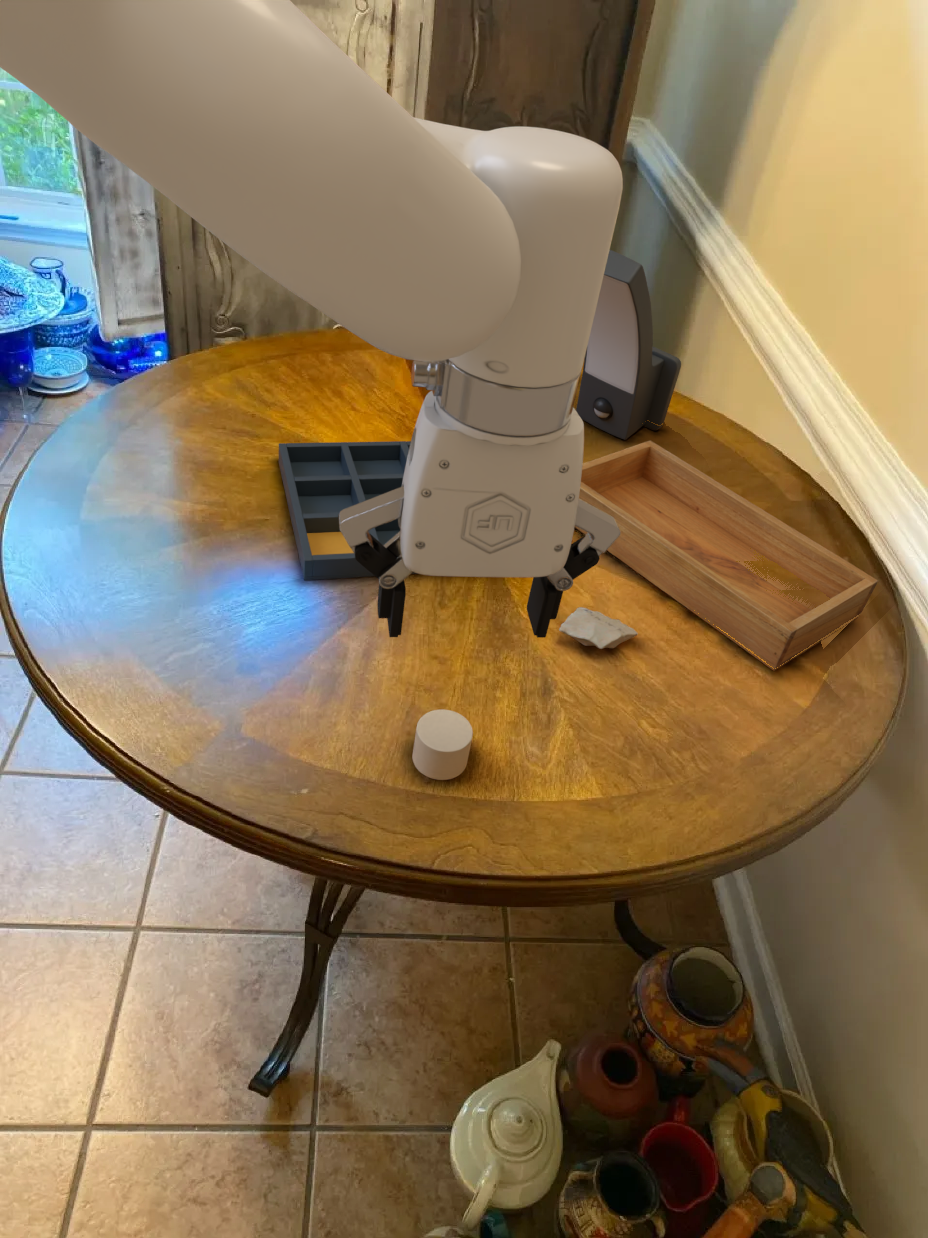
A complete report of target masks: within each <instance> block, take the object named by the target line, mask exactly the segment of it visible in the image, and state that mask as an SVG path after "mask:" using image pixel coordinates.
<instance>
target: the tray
mask: <svg viewBox="0 0 928 1238" xmlns="http://www.w3.org/2000/svg"><path fill="white" fill-rule="evenodd" d="M579 499H581V500H583V501H585V502H587V503H588V504H590V505H592V506H594V507H596V508H598V509H599V510H601V511H603V512H605V513H607V514H609V515H610V516H612V517H614V518H615V520H616V522H617V524H618V527H619V529H620V531H621V533H620V536H619V537H618V538H617V539H616V540H615V542H614V543H613V544H612V545H611V546H610V547H609V548H608V549H607V550H606V552H609V553H610V554H611V555H613V556H614V557H616V558H617V559H618V560H620V561H621V562H622V563H624V564H625V565H626V566H628V567H629V568H631V569H632V570H633V571H634V572H636V573H637V574H639V575H640V576H642V577H643V578H644V579H646V580H647V581H649V582H650V583H652V584H653V585H654V586H656V587H657V588H658V589H660V590H661V591H663V592H664V593H665V594H667V595H668V596H669V597H670V598H672V599H674V601H677V603H679V604H681V605H682V606H684V607H685V608H687V610H689V611H690V612H692V613H693V614H695V616H698V617H699V618H700V619H701V620H703V621H704V622H705V623H707V624H708V625H709V626H711V627H713V628H714V629H715V630H717V631H718V632H719V633H720V634H722V635H724V636H725V637H726V638H727V639H729V640H730V641H732V642H733V643H734V644H736V645H737V646H739V647H740V648H742V649H743V650H744V651H746V652H747V653H748V654H750V656H752V657H754V658H755V659H756V660H758V661H759V662H761V663H762V664H764V666H766V667H768V668H769V669H770V670H771V671H776V670H778V669H779V668H781V667H783V666H784V665H786V664H788V663H789V662H790V661H792V660H794V659H796V658H797V657H798V656H800V655H802V654H804V653H806V652H807V651H808V650H810V649H811V648H813V647H814V646H816V645H818V644H819V643H821V642H823V641H824V640H826V639H827V638H828V637H831V636H832V635H833V634H835V633H837V632H838V631H839V630H841V629H843V628H844V627H846V626H847V625H849V624H850V623H852V622H854V621H855V620H857V619H858V618H859V617H857V618H856V619H854V620H853V621H851V622H850V623H848V624H846V625H845V626H843V627H842V628H840V629H839V630H837V631H835V632H834V633H832V634H831V635H829V636H828V637H826V638H824V639H823V640H821V641H820V642H818V643H816V644H815V645H813V646H812V647H810V648H809V649H807V650H805V651H804V652H802V653H801V654H799V655H797V654H798V653H800V652H801V651H803V650H804V649H806V648H808V647H809V646H810V645H812V644H814V643H815V642H817V641H818V640H820V639H821V638H823V637H825V636H826V635H828V634H829V633H831V632H832V631H834V630H835V629H837V628H839V627H840V626H841V625H843V624H844V623H846V622H848V621H849V620H851V619H853V618H854V617H856V616H857V615H859V614H860V615H861V613H862V612H863V611H864V609H865V607H866V606H867V604H868V602H869V600H870V597H871V596H872V594H873V592H874V590H875V588H876V586H877V585H878V582H879V580H878V579H876V578H875V577H873V576H871V575H870V574H869V573H866V572H865V571H863V570H862V569H861V568H858V567H857V566H855V565H854V564H852V563H851V562H849V561H847V560H846V559H844V558H843V557H841V556H839V555H838V554H836V553H834V552H832V551H831V550H829V549H827V548H826V547H824V546H822V545H821V544H820V543H818V542H816V541H814V540H812V539H811V538H810V537H808V536H806V534H805V535H804V534H803V533H801V532H800V531H798V530H796V529H795V528H794V527H792V526H790V525H788V524H786V523H785V522H783V521H782V520H780V519H779V518H777V517H776V516H774V515H772V514H771V513H769V512H767V511H766V510H764V509H762V508H760V507H759V506H758V505H756V504H754V503H752V502H751V501H749V500H747V499H746V498H744V497H742V496H741V495H739V494H737V493H736V492H735V491H733V490H732V489H729V488H728V487H726V486H725V485H724V484H722V483H720V482H718V481H716V480H715V479H713V478H712V477H711V476H709V475H707V474H706V473H704V472H702V471H701V470H699V469H698V468H696V467H694V466H692V465H691V464H690V463H687V462H686V461H684V460H683V459H682V458H680V457H679V456H676V455H675V454H673V453H671V452H670V451H668V450H666V449H665V448H663V447H662V446H660V445H659V444H657V443H655V442H654V441H652V440H647V441H644V442H642V443H638V444H636V445H632V446H629V447H627V448H624V449H621V450H618V451H616V452H612V453H610V454H607V455H604V456H601V457H599V458H594V459H592V460H589V461H587V462H583V466H582V475H581V485H580V493H579ZM574 529H576V530H578V531H579V532H580V533H582V534H584V535H585V534H586V533H587V532H586V531H584V530H582V529H580V528H578V527H577V526H575V527H574ZM750 548H751V549H750ZM754 550H755V551H756V553H757V554H758V553H759V554H758V555H759V556H760V555H761V556H762V555H763V556H765V558H767V560H768V559H769V560H770V561H773V562H775V563H777V564H778V565H779V566H781V567H782V568H784V569H786V570H788V571H789V572H791V573H793V574H794V575H796V576H797V577H798V578H800V579H801V580H803V581H804V582H806V583H807V584H809V585H811V586H812V587H814V588H816V589H817V590H820V591H821V592H823V593H824V594H826V596H827V597H829V598H830V600H828V601H826V602H824V603H823V604H821V605H818V606H817V607H816V608H815V607H814V605H815V604H814V605H813V604H812V605H813V606H812V605H811V606H810V604H811V603H810V602H809V603H810V604H809V603H808V604H807V603H805V602H806V601H807V600H808V599H807V600H806V601H805V600H804V601H805V602H804V601H803V602H802V600H803V599H802V598H803V597H802V598H801V599H800V600H799V601H798V597H799V596H798V597H797V596H796V597H797V598H796V599H795V600H794V599H793V598H794V596H793V597H792V596H791V595H790V596H791V597H792V598H791V597H790V596H789V594H790V593H789V594H788V595H787V596H786V595H785V594H784V592H783V593H782V594H781V593H780V592H781V591H782V590H786V589H787V588H788V589H787V590H791V589H792V588H793V587H794V586H793V587H792V588H791V589H789V588H790V586H791V585H792V584H791V585H789V586H788V585H787V584H788V583H789V582H788V583H787V584H786V583H785V584H786V585H787V586H788V587H787V586H786V585H785V584H783V583H784V582H783V581H782V582H783V583H782V582H781V581H780V580H779V579H777V580H776V579H775V578H776V577H775V578H774V577H773V578H774V579H775V580H776V581H775V580H774V579H773V578H771V577H770V576H769V575H768V574H767V575H768V576H767V579H766V578H764V577H765V576H764V575H763V574H762V573H761V572H760V571H759V570H758V569H757V568H756V569H757V570H758V571H759V572H760V573H761V574H762V575H763V576H762V575H761V574H760V573H759V572H758V571H757V572H758V573H759V574H760V575H761V576H762V577H761V576H760V575H759V574H758V575H759V576H760V577H759V576H758V575H757V574H756V573H757V572H755V571H754V569H752V567H750V565H751V564H750V565H748V563H749V562H750V561H757V560H758V561H759V559H760V558H759V557H758V555H757V554H756V553H755V551H754ZM753 552H754V553H753ZM754 554H756V555H754ZM754 556H755V557H756V556H757V557H758V558H759V559H757V557H756V558H755V557H754ZM761 556H760V557H761ZM752 557H753V558H752ZM763 558H764V557H763ZM754 559H755V560H754ZM761 559H762V558H761ZM761 559H760V560H761ZM769 560H768V561H769ZM736 561H738V562H736ZM739 561H740V562H739ZM744 561H749V562H748V563H747V562H746V563H747V564H746V563H744ZM761 561H762V560H761ZM763 561H764V560H763ZM750 563H751V562H750ZM745 565H746V566H745ZM752 565H753V564H752ZM752 565H751V566H752ZM747 567H748V568H747ZM749 567H750V568H749ZM754 567H755V566H754ZM754 567H753V568H754ZM746 568H747V569H746ZM762 568H763V567H762ZM767 568H768V567H767ZM749 569H750V570H749ZM751 569H752V570H751ZM756 569H755V570H756ZM748 570H749V571H748ZM764 570H765V569H764ZM753 571H754V572H753ZM768 571H769V570H768ZM750 572H751V573H750ZM752 572H753V573H752ZM767 573H768V572H767ZM754 574H755V575H754ZM769 577H770V578H771V579H770V578H769ZM763 578H764V579H763ZM768 578H769V579H768ZM772 579H773V580H774V581H773V580H772ZM766 580H767V581H766ZM778 580H779V581H780V582H781V583H782V584H783V585H782V584H781V583H780V582H779V581H778ZM797 584H798V583H797ZM797 584H796V585H797ZM785 586H786V587H785ZM794 588H795V587H794ZM797 588H798V589H799V586H798V587H797ZM797 588H796V589H797ZM798 589H797V590H798ZM803 589H804V588H803ZM803 589H802V590H803ZM766 590H767V591H766ZM770 590H771V591H770ZM773 590H774V591H773ZM777 590H778V591H777ZM779 590H781V591H780V592H779ZM792 590H793V589H792ZM794 590H795V589H794ZM799 590H801V589H799ZM775 592H776V593H775ZM772 593H773V594H772ZM779 593H780V594H781V595H780V594H779ZM778 594H779V595H778ZM784 595H785V596H786V597H785V596H784ZM783 596H784V597H783ZM789 597H790V598H789ZM788 598H789V599H788ZM792 599H793V600H794V601H793V600H792ZM792 601H793V602H792ZM801 602H802V603H801ZM795 603H796V604H795ZM806 604H807V605H806ZM809 606H810V607H809ZM808 607H809V608H808ZM813 607H814V608H813ZM812 608H813V609H812ZM694 610H695V611H694ZM698 613H699V614H698ZM860 615H859V616H860ZM705 618H706V619H705ZM708 620H709V621H710V622H709V621H708ZM713 624H714V625H713ZM716 626H717V627H719V628H720V629H721V630H723V631H724V632H726V633H728V635H730V636H731V637H733V638H735V640H737V641H738V642H740V643H741V644H743V645H744V646H745V647H746V648H748V649H750V650H751V651H753V652H754V654H756V655H757V656H759V657H760V658H761V659H763V660H764V661H766V663H767V664H769V665H770V666H772V667H773V668H774V669H773V668H772V667H770V666H769V665H767V664H766V663H765V662H763V661H762V660H761V659H759V658H758V657H757V656H755V655H754V654H752V653H751V652H750V651H748V650H747V649H746V648H744V647H743V646H742V645H740V644H739V643H738V642H736V641H735V640H734V639H732V638H731V637H730V636H728V635H727V634H726V633H724V632H723V631H721V630H720V629H719V628H717V627H716ZM795 655H797V656H796V657H794V656H795ZM792 657H794V658H792ZM791 658H792V659H791ZM790 659H791V660H790ZM788 660H789V661H788ZM786 661H788V662H786ZM785 662H786V663H785ZM783 663H784V664H783ZM782 664H783V665H782ZM780 665H781V666H780ZM777 667H778V668H777ZM775 668H776V669H775Z"/></svg>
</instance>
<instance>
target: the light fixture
mask: <svg viewBox="0 0 928 1238" xmlns="http://www.w3.org/2000/svg"><path fill="white" fill-rule="evenodd" d="M653 327H654V326H653V313H652V303H651V296H650V291H649V287H648V282H647V277H646V273H645V268H644V266H643V265H642V264H641V263H639V262H637V261H635V260H634V259H632V258H629V257H628V256H625V254H624V255H623V254H621V253H619V252H616V251H614V250H612V249H610V250H609V254H608V258H607V263H606V267H605V271H604V276H603V280H602V284H601V289H600V293H599V297H598V302H597V306H596V310H595V315H594V319H593V323H592V328H591V332H590V336H589V341H588V345H587V349H586V354H585V358H584V362H583V367H582V373H581V379H580V380H581V381H580V386H579V392H578V398H577V403H576V407H575V410H576V411H577V413H578V415H579V416H580V417H581V419H582V421H583V422H586V423H588V424H589V425H591V426H593V427H595V428H597V429H599V430H600V431H603V432H605V433H607V434H609V435H612V436H614V437H616V438H617V439H622V440H625V441H626V440H627V439H628V438H630V437H631V436H633V435H634V434H635V433H636V432H638V431H639V429H641V428H643V427H644V428H647V429H649V430H651V431H658V430H659V429H661V428H663V425H664V423H665V420H666V417H667V414H668V410H669V408H670V405H671V401H672V398H673V395H674V391H675V388H676V385H677V381H678V378H679V375H680V372H681V368H682V361H681V359H680V358H678V357H677V356H675V355H673V354H671V353H669V352H666V351H664V350H662V349H660V348H658V347H655V346H654V329H653ZM647 420H649V421H650V422H649V421H647ZM645 421H646V422H645ZM651 422H653V423H655V424H658V425H661V424H662V423H663V425H661V426H657V425H655V424H653V423H651ZM642 423H643V424H642Z"/></svg>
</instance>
